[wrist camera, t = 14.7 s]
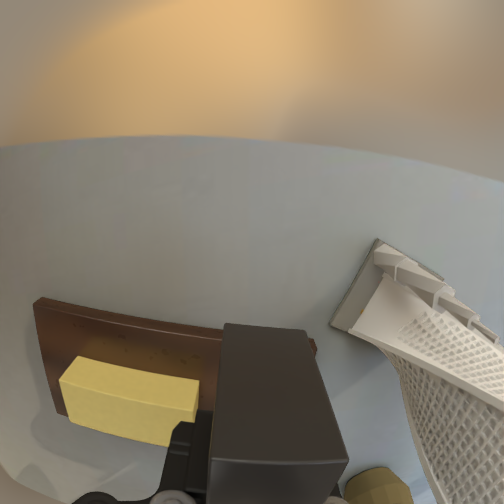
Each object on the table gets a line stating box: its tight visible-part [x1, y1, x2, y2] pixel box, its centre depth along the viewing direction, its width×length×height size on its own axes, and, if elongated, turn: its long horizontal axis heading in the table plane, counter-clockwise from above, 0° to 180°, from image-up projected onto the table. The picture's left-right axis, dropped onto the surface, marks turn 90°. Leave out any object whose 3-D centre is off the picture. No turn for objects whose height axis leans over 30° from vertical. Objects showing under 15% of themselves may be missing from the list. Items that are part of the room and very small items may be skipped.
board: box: [33, 297, 317, 417], centre depth 23 cm, size 12×22×2 cm, turn 82°
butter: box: [59, 356, 199, 447], centre depth 20 cm, size 4×10×4 cm, turn 83°
